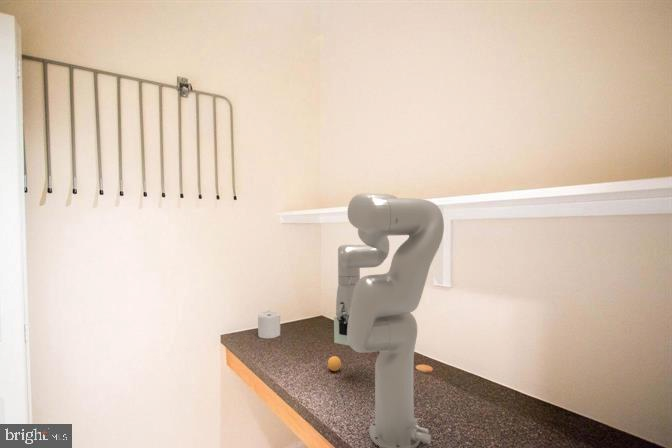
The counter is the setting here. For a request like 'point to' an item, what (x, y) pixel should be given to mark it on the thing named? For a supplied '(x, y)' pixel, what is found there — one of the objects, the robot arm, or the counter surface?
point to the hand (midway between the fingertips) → (349, 330)
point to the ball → (334, 363)
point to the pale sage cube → (338, 337)
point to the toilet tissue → (269, 324)
